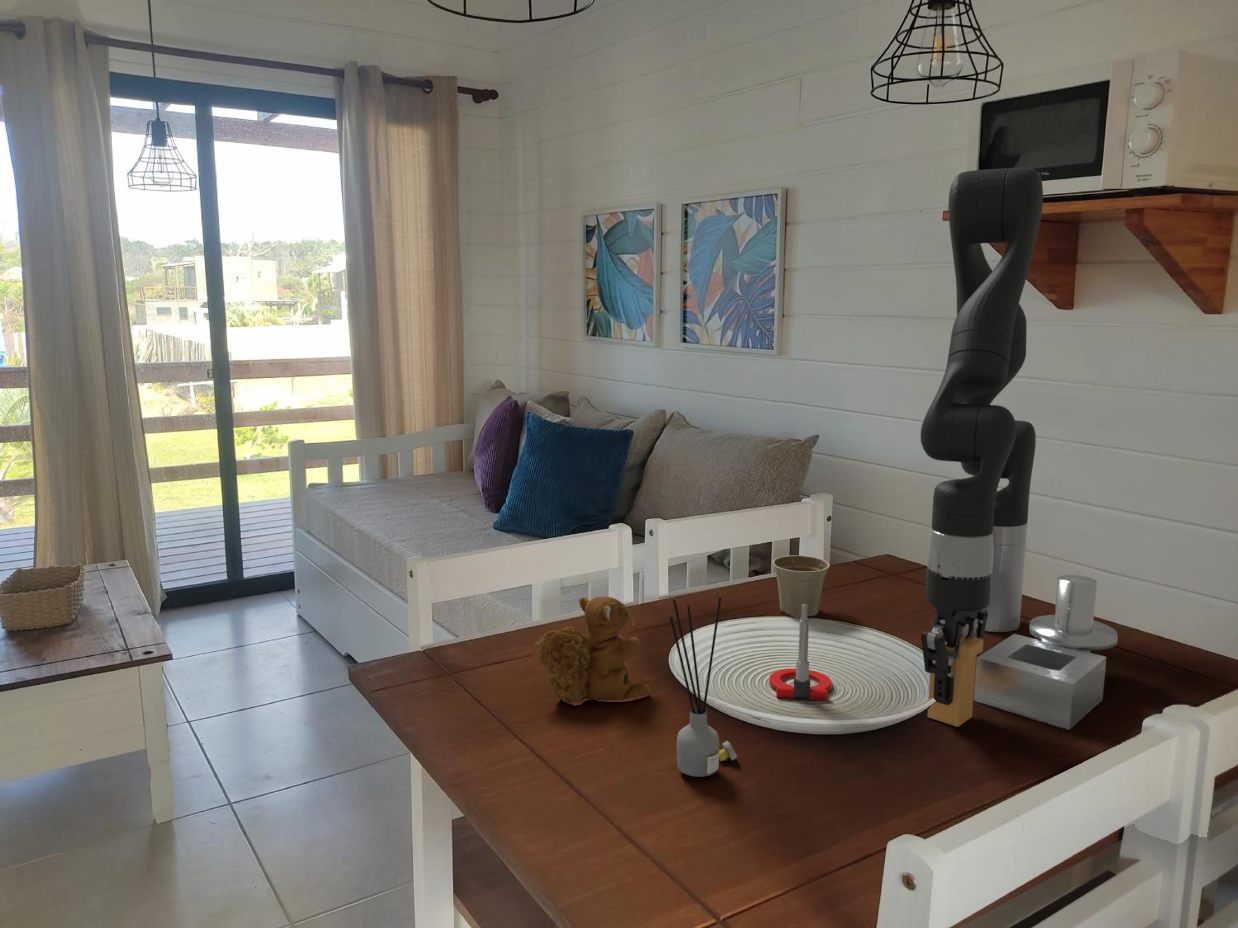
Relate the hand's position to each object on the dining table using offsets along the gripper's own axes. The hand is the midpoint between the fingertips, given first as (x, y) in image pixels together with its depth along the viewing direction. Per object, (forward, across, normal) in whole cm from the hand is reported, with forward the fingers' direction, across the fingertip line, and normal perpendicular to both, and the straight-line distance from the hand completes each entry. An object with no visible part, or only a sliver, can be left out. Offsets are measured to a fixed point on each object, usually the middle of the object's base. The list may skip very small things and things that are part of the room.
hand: (951, 696), depth 117 cm
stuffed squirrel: (+3, +27, -37) cm, 46 cm away
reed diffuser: (+3, +32, -15) cm, 36 cm away
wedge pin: (+3, 0, 0) cm, 3 cm away
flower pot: (+3, -20, -36) cm, 41 cm away
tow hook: (+3, +5, -19) cm, 20 cm away
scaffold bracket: (+3, -18, +6) cm, 19 cm away
